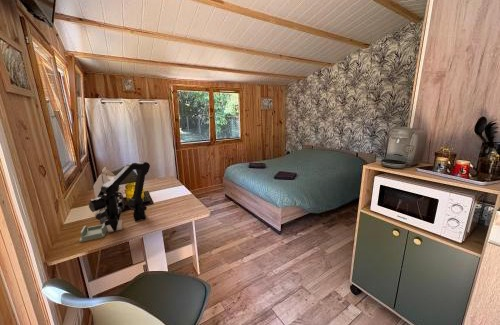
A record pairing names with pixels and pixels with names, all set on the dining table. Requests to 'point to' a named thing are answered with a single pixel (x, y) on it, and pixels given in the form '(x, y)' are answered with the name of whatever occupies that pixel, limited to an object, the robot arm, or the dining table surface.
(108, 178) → the gable box
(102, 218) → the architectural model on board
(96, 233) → the holder
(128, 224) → the dining table surface
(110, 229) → the roll
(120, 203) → the french press
